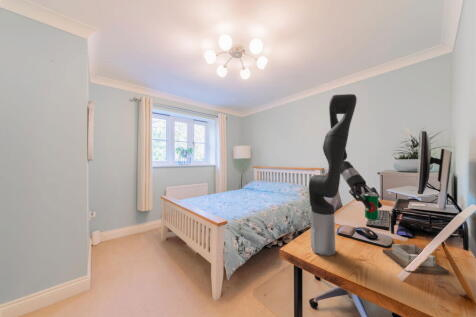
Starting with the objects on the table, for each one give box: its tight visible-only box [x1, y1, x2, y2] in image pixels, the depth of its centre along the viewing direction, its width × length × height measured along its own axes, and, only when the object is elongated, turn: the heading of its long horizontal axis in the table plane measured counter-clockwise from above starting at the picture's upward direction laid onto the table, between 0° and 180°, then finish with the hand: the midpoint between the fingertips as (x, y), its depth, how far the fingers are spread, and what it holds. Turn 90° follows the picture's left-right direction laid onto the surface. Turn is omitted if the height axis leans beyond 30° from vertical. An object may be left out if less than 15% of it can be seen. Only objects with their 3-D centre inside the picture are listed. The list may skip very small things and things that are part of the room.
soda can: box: [364, 192, 379, 221], centre depth 82 cm, size 5×5×12 cm
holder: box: [382, 243, 450, 275], centre depth 68 cm, size 13×13×5 cm
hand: (375, 207), depth 81 cm, fingers closed on soda can, 5 cm apart
